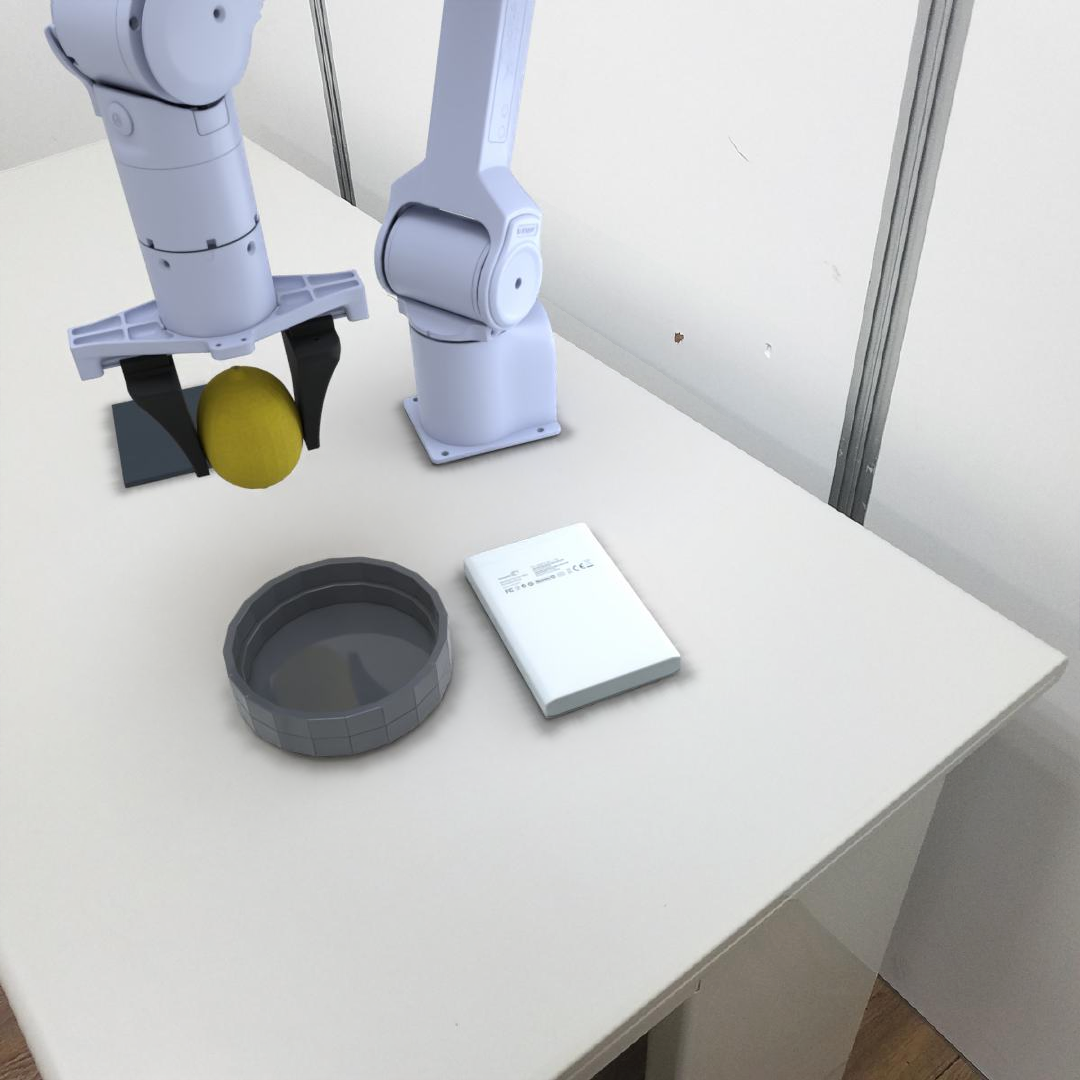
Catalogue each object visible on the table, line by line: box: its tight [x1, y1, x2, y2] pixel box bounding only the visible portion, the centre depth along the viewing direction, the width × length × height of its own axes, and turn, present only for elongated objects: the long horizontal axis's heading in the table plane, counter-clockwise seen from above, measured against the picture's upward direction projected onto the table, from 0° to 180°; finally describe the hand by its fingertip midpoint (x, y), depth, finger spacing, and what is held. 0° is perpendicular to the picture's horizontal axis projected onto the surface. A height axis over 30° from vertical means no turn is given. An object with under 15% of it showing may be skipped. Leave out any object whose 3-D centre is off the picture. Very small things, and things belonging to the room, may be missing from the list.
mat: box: [111, 383, 212, 488], centre depth 80 cm, size 10×10×1 cm
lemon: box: [196, 364, 304, 490], centre depth 61 cm, size 6×6×8 cm
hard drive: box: [462, 522, 682, 719], centre depth 64 cm, size 2×8×12 cm
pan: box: [222, 556, 453, 757], centre depth 61 cm, size 12×12×3 cm
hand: (255, 453), depth 62 cm, fingers closed on lemon, 5 cm apart
